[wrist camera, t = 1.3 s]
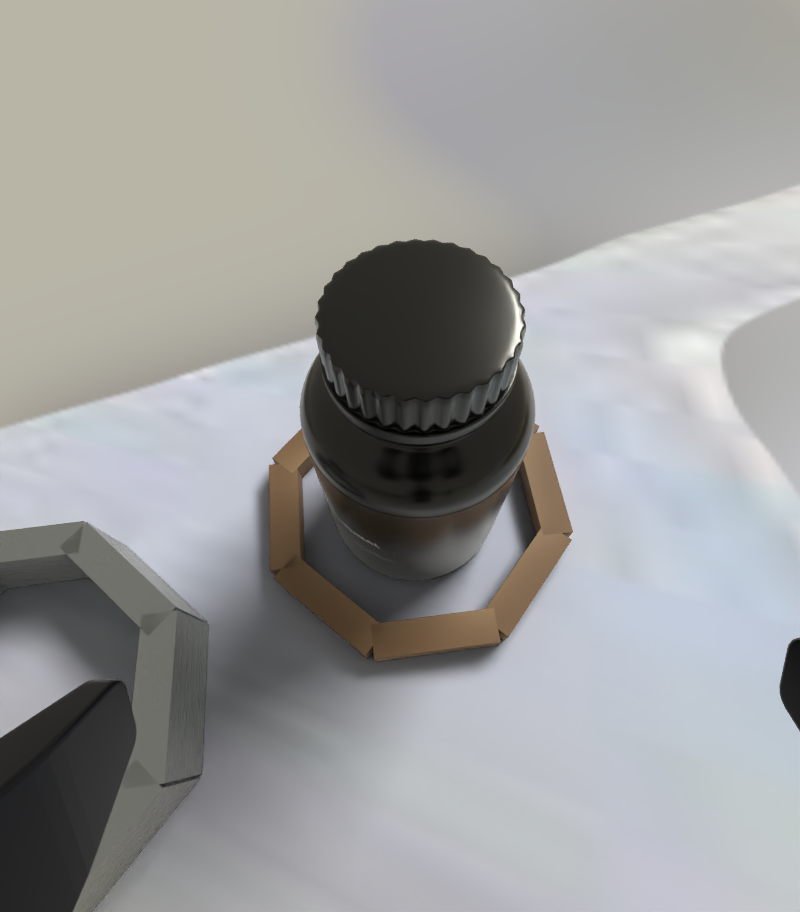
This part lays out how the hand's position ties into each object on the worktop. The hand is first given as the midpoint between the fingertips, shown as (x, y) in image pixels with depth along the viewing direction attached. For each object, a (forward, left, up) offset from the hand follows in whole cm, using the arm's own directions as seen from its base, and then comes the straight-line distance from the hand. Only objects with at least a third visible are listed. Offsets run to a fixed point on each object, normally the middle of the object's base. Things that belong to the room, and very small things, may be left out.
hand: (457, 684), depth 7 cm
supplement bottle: (+6, +5, -13) cm, 15 cm away
